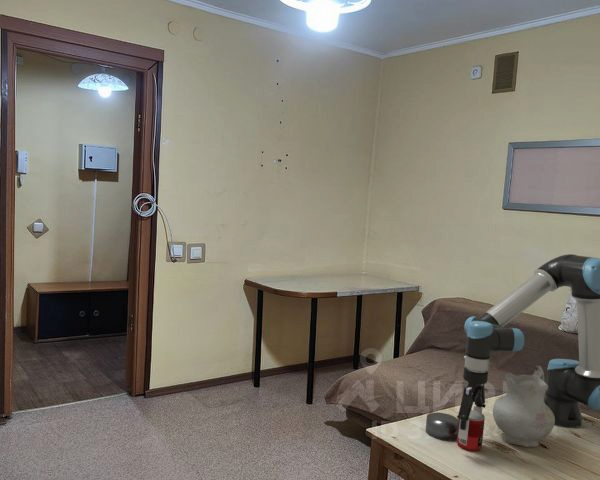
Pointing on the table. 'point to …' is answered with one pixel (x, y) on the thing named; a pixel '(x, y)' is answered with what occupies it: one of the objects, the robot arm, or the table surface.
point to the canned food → (473, 432)
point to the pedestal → (442, 426)
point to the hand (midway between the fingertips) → (469, 432)
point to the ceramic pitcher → (524, 410)
